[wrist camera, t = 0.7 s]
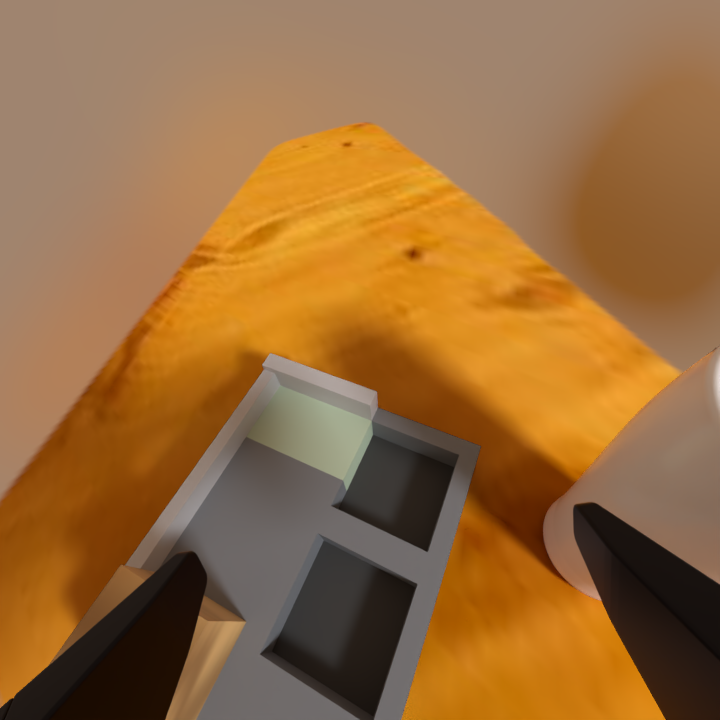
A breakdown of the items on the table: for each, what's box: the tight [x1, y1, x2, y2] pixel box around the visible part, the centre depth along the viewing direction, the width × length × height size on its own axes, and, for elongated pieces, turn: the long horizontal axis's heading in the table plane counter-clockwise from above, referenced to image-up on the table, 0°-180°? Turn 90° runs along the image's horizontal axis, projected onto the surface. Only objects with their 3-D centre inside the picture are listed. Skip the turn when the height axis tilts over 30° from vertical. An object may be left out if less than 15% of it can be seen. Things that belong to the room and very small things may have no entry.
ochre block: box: [49, 565, 246, 720], centre depth 15 cm, size 4×4×4 cm
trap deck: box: [125, 353, 481, 720], centre depth 19 cm, size 18×14×4 cm
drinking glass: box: [543, 345, 720, 601], centre depth 14 cm, size 7×7×15 cm
